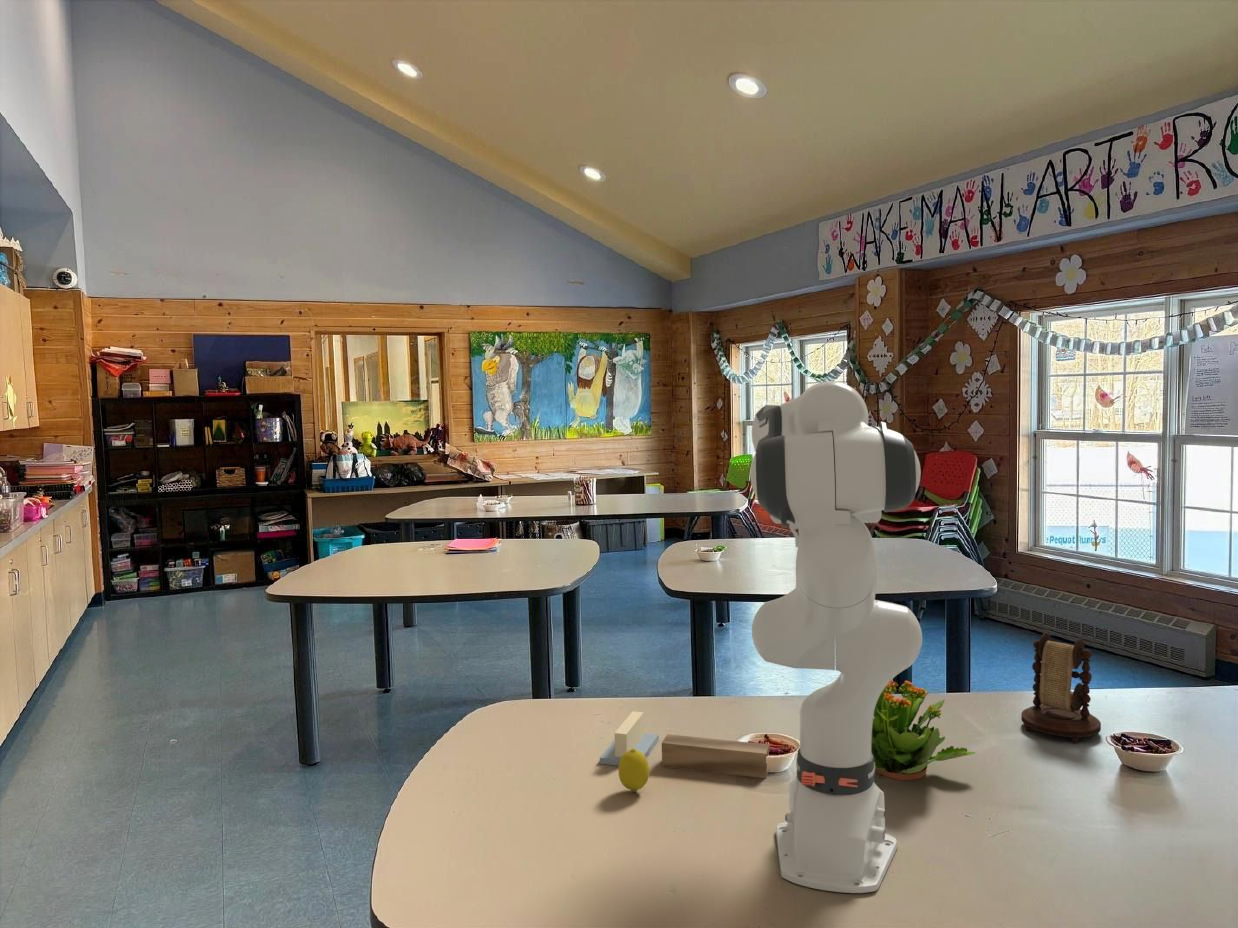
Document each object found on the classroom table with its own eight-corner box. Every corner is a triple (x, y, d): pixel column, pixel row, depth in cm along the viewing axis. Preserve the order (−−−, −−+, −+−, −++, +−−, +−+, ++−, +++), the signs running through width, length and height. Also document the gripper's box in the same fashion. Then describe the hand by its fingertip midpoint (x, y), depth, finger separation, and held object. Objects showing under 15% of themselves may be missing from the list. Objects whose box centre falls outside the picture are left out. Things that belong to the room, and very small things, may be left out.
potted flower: (977, 757, 173) (978, 669, 172) (969, 811, 152) (970, 710, 150) (846, 738, 184) (846, 655, 182) (821, 786, 162) (821, 692, 161)
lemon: (613, 795, 161) (612, 751, 160) (627, 782, 166) (626, 740, 165) (641, 801, 158) (640, 757, 158) (654, 788, 163) (653, 745, 163)
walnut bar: (766, 779, 167) (766, 753, 166) (662, 767, 173) (661, 742, 172) (769, 769, 171) (769, 744, 170) (667, 758, 177) (667, 734, 176)
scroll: (1008, 730, 186) (1010, 636, 185) (1039, 711, 196) (1040, 622, 195) (1083, 750, 176) (1086, 650, 174) (1111, 730, 185) (1114, 635, 184)
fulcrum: (639, 767, 172) (638, 737, 172) (600, 763, 175) (599, 733, 174) (658, 740, 185) (658, 711, 185) (621, 736, 188) (621, 708, 187)
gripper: (769, 475, 166) (770, 549, 167) (883, 474, 164) (883, 549, 165) (767, 472, 172) (768, 544, 173) (876, 471, 170) (876, 543, 171)
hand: (825, 546), depth 169 cm, fingers open, 8 cm apart
